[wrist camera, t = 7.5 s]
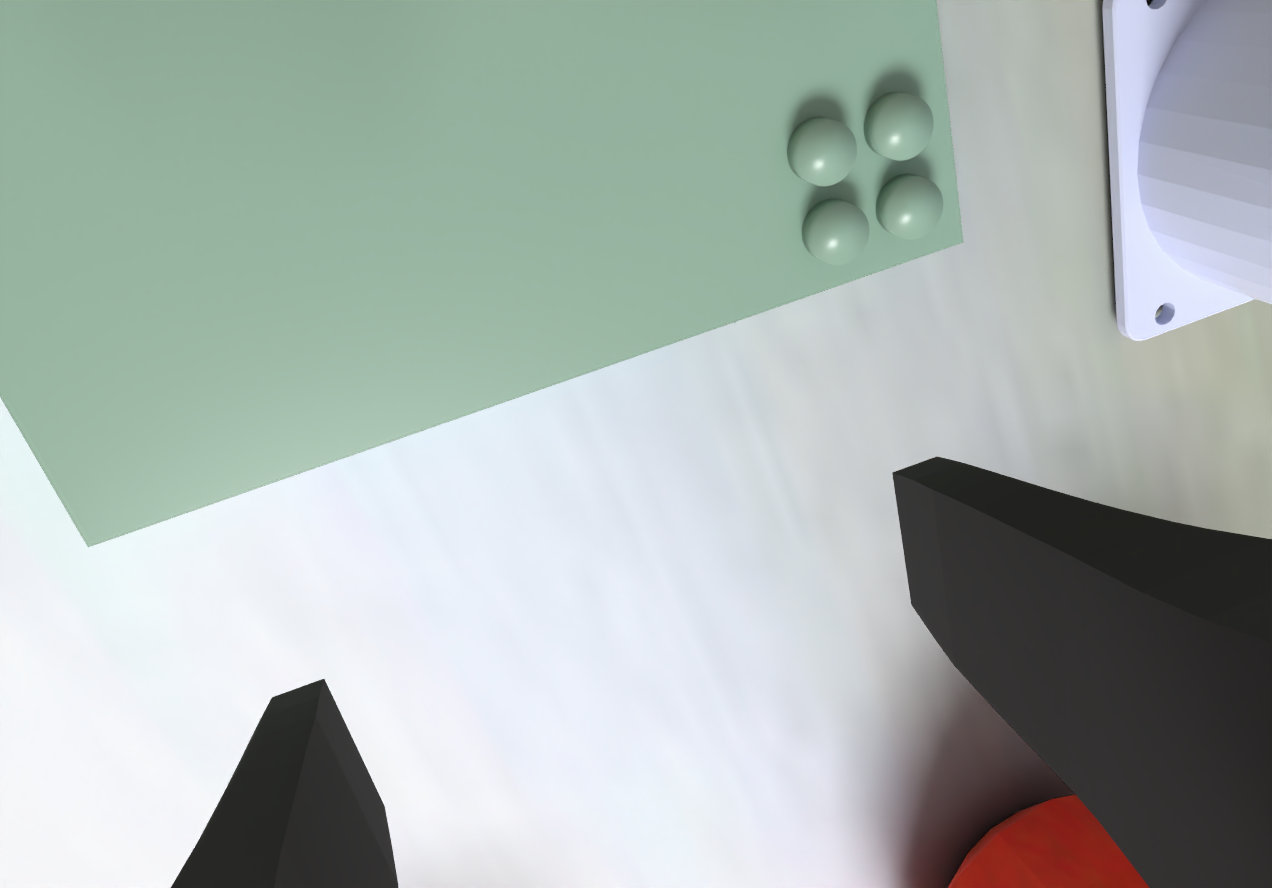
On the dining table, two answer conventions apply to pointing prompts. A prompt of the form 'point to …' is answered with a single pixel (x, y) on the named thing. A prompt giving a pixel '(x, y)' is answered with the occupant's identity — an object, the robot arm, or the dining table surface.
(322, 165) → the building board
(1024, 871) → the apple
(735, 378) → the dining table surface
